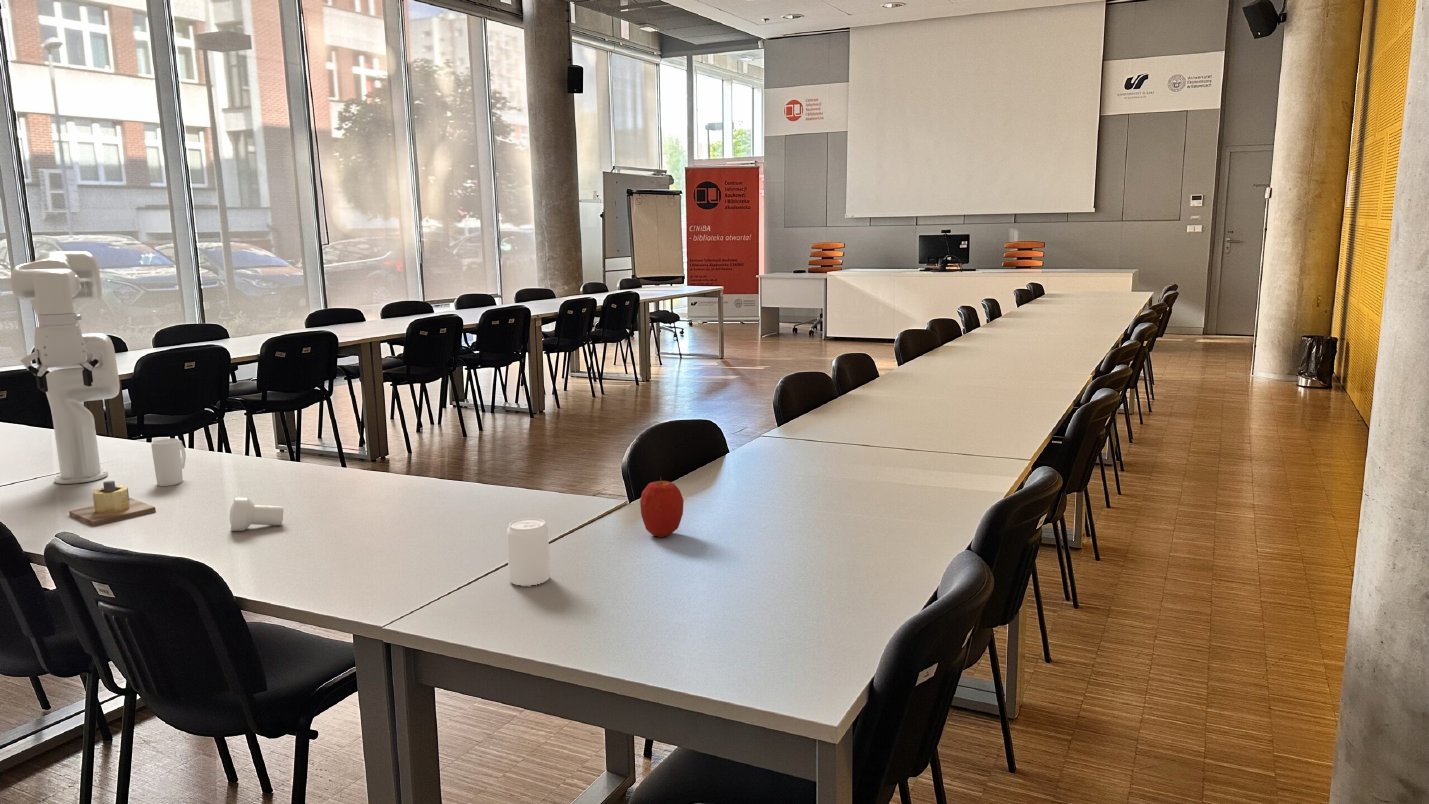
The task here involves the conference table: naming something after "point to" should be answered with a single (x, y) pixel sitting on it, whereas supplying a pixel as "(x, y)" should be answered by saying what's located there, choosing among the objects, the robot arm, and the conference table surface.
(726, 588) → the conference table surface
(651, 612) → the conference table surface
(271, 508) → the spotlight
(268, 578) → the conference table surface
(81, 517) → the post block
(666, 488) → the apple
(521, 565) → the beverage can
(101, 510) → the ring
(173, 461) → the mug
